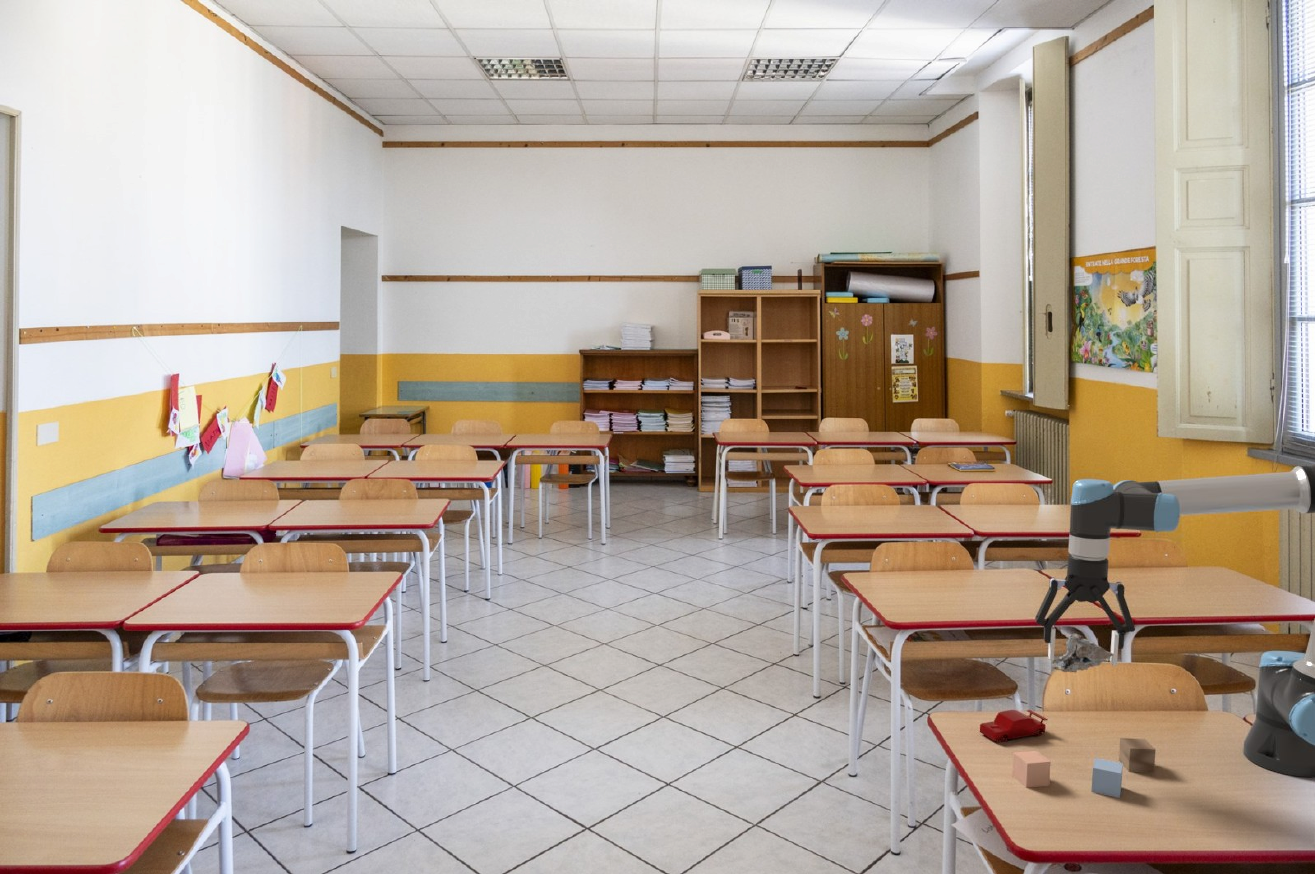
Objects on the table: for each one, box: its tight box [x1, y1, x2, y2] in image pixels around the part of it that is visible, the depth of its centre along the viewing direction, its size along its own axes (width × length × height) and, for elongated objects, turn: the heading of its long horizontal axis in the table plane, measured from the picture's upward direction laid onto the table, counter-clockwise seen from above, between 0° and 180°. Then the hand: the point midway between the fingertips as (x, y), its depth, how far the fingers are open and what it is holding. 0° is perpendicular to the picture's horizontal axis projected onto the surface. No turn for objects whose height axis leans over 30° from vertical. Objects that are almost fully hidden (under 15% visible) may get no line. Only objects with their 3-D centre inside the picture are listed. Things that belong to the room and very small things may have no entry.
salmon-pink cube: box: [1011, 750, 1051, 788], centre depth 193 cm, size 5×5×5 cm
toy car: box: [979, 709, 1049, 744], centre depth 215 cm, size 14×6×5 cm, turn 110°
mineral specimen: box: [1051, 633, 1113, 673], centre depth 197 cm, size 10×8×10 cm
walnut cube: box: [1118, 737, 1156, 773], centre depth 200 cm, size 5×5×5 cm
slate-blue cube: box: [1090, 757, 1124, 798], centre depth 189 cm, size 5×5×5 cm
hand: (1082, 660), depth 198 cm, fingers closed on mineral specimen, 11 cm apart
